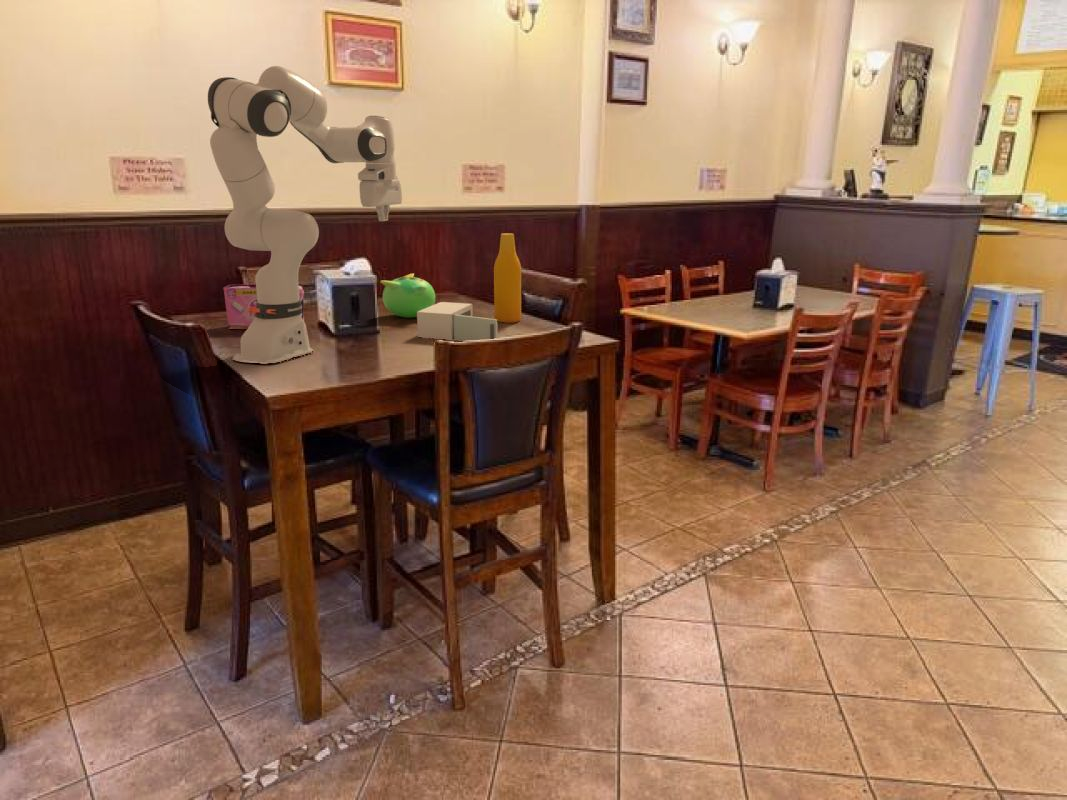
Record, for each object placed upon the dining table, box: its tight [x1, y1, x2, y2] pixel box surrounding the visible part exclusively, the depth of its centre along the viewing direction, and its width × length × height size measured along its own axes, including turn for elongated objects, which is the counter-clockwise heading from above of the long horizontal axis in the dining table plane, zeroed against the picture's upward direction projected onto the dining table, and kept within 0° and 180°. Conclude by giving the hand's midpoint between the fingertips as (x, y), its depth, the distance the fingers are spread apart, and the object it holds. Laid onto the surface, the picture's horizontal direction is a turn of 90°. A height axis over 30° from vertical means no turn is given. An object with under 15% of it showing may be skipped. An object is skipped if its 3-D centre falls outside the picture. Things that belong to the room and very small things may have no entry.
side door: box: [452, 314, 499, 342], centre depth 223 cm, size 16×2×8 cm, turn 61°
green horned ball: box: [379, 273, 436, 319], centre depth 258 cm, size 18×17×15 cm
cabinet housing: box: [416, 301, 474, 341], centre depth 237 cm, size 20×11×8 cm, turn 163°
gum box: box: [223, 283, 305, 326], centre depth 242 cm, size 24×8×14 cm, turn 96°
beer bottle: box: [493, 232, 522, 324], centre depth 252 cm, size 9×9×29 cm
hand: (383, 220), depth 230 cm, fingers closed
